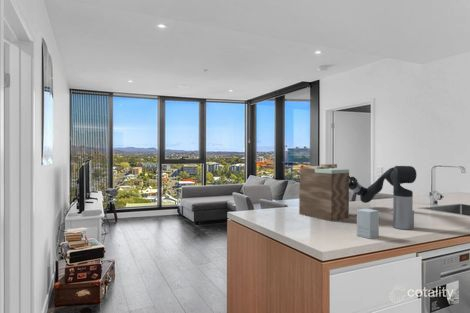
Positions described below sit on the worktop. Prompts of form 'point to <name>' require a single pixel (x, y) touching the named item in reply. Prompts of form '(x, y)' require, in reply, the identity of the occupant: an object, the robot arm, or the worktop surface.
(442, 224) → the worktop surface
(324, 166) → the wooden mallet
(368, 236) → the supplement box
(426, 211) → the worktop surface
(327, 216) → the walnut stand
